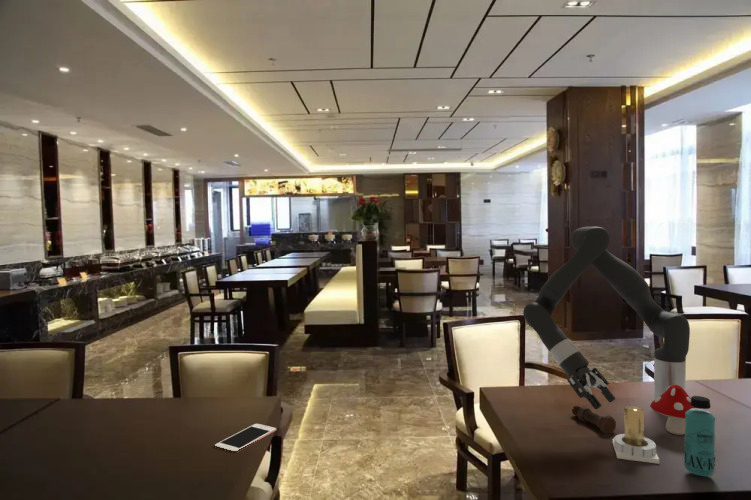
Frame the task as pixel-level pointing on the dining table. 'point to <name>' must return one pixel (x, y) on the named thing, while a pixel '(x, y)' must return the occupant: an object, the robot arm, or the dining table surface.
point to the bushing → (634, 426)
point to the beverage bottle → (699, 438)
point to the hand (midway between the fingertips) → (606, 404)
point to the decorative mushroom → (673, 408)
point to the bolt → (595, 419)
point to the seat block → (635, 450)
